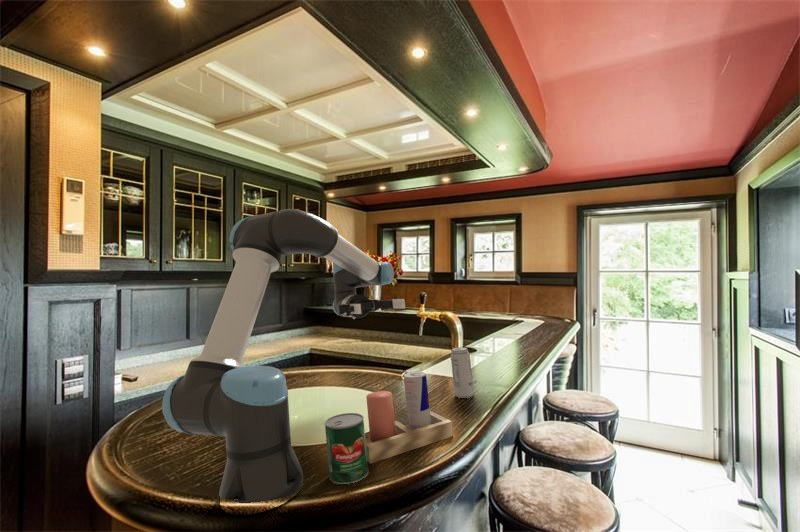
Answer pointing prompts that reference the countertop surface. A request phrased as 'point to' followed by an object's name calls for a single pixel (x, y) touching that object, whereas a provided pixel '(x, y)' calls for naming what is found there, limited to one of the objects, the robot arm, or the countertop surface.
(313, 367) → the countertop surface
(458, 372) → the energy drink can
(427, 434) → the holder
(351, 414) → the canned tomato
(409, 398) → the beverage can
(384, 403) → the plug
